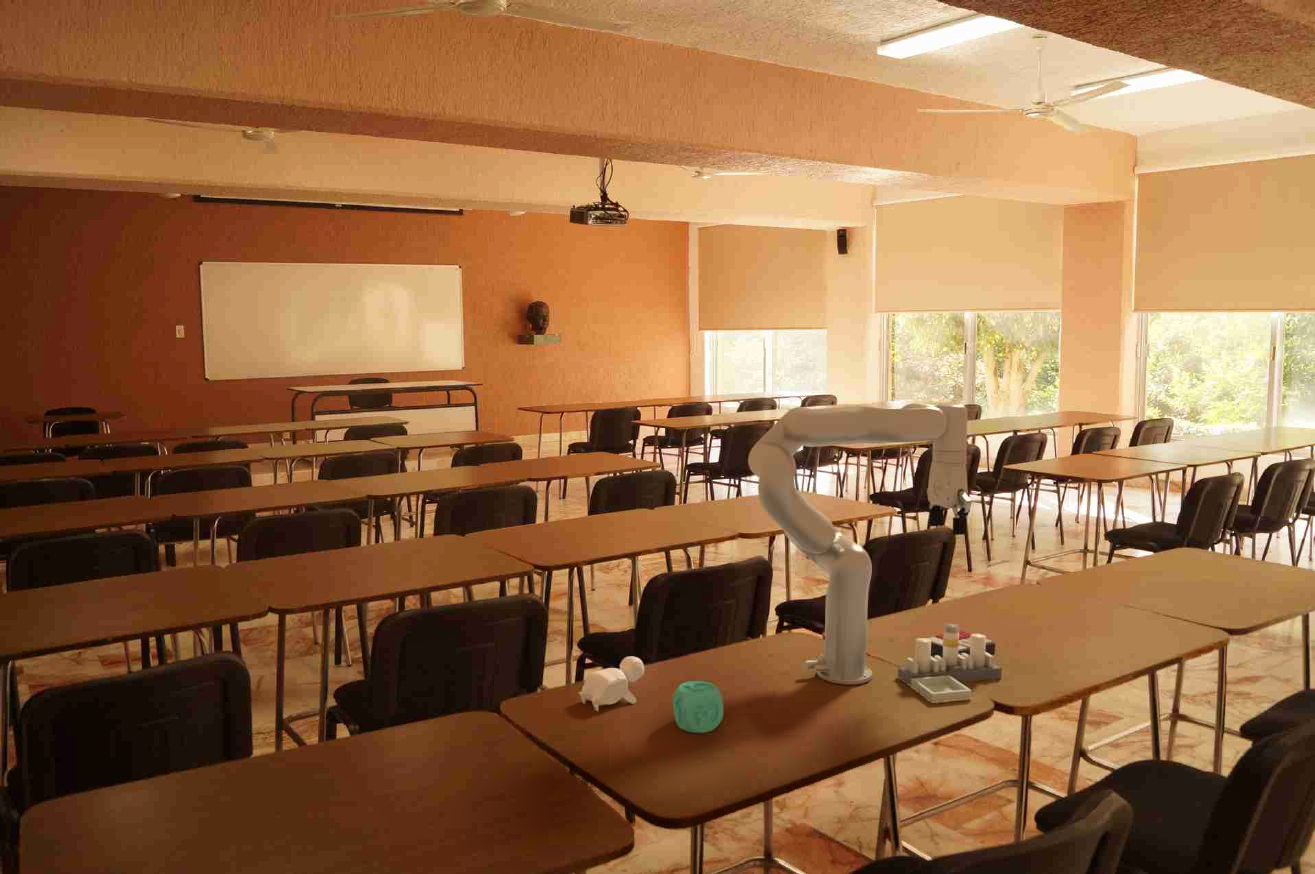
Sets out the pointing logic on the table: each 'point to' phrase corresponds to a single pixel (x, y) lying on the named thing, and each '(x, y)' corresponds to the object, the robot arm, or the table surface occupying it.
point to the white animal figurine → (612, 683)
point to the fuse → (951, 644)
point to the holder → (967, 669)
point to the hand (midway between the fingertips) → (947, 530)
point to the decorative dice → (697, 706)
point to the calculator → (963, 645)
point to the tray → (940, 688)
